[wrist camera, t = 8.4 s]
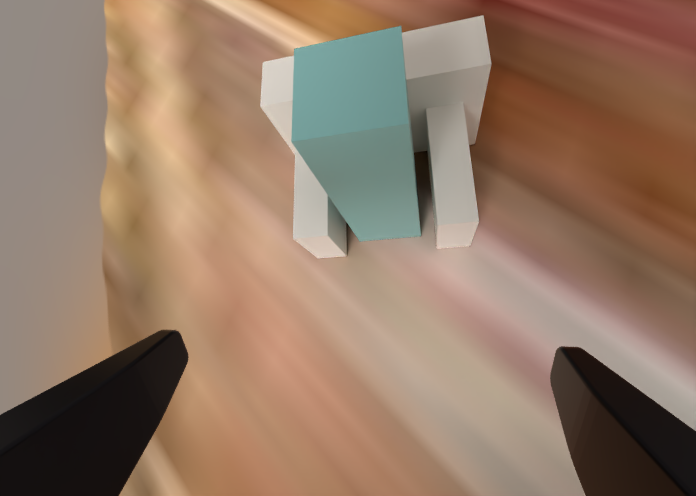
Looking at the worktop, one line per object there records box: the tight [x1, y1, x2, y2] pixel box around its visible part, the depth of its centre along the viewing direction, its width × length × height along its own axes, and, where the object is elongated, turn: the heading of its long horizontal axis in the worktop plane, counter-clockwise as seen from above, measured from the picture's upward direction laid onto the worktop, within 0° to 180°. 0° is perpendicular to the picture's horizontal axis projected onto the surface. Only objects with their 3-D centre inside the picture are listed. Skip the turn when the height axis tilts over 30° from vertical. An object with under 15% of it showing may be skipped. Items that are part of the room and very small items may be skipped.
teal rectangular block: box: [291, 26, 421, 241], centre depth 18 cm, size 6×4×12 cm
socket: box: [260, 15, 491, 258], centre depth 21 cm, size 10×12×7 cm
